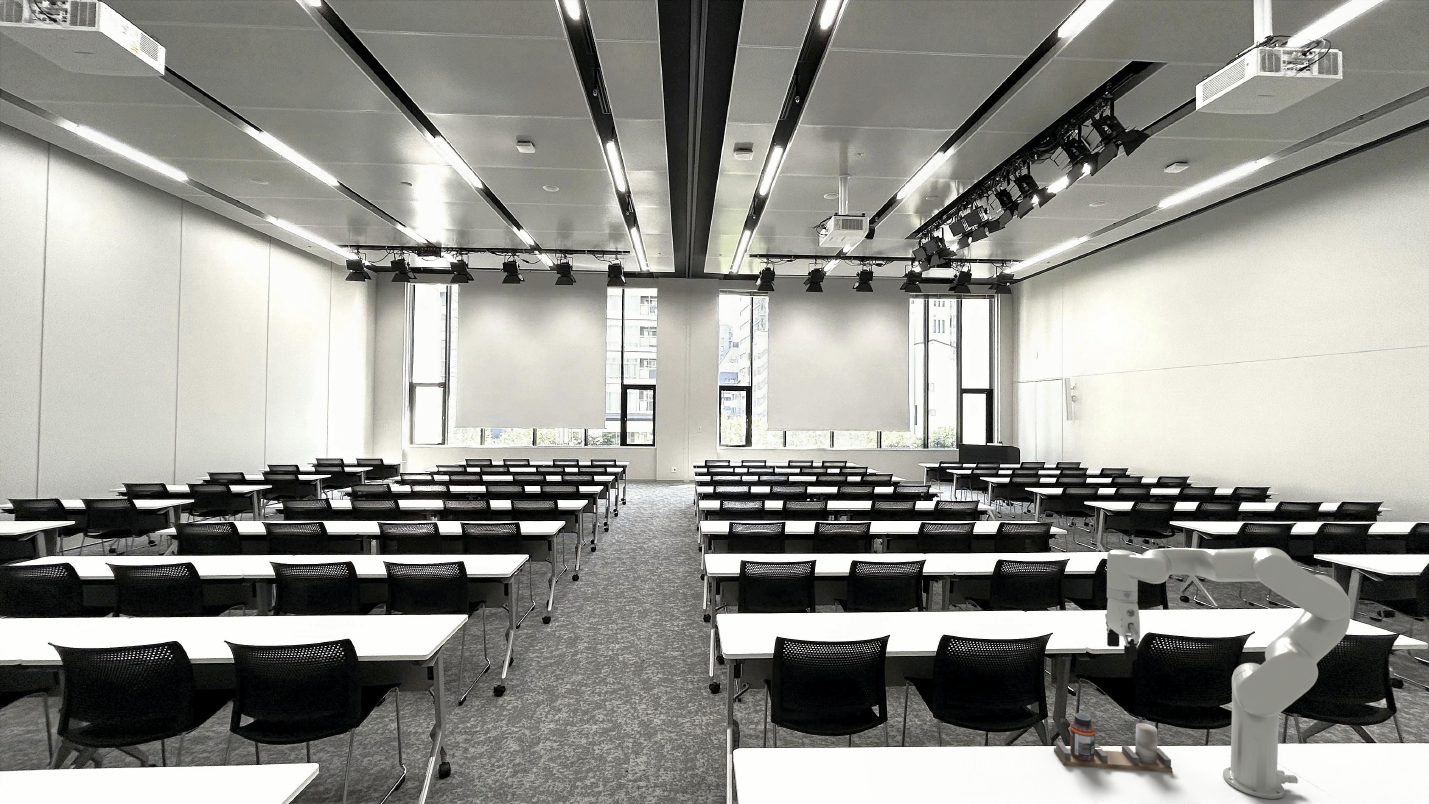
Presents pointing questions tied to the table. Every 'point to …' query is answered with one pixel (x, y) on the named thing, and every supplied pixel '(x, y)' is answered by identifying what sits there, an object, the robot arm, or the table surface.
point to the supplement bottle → (1082, 737)
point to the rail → (1114, 761)
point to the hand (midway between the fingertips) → (1121, 652)
